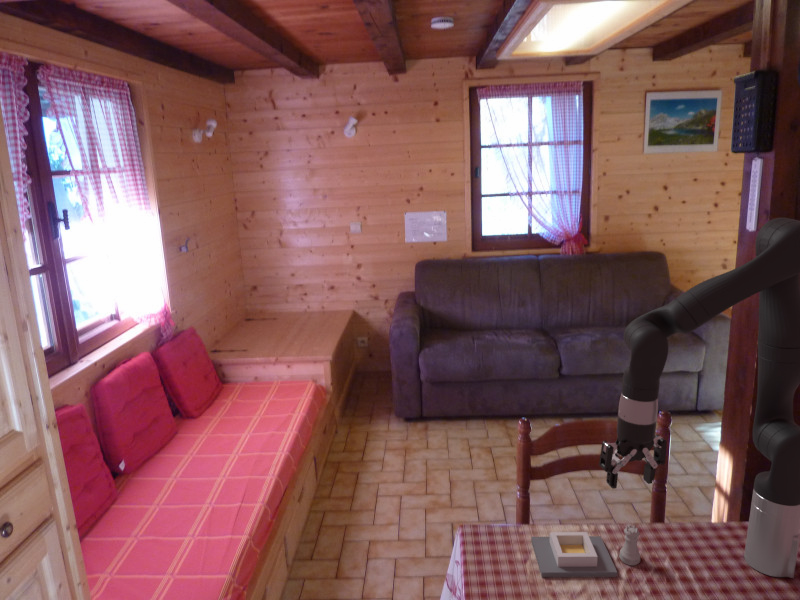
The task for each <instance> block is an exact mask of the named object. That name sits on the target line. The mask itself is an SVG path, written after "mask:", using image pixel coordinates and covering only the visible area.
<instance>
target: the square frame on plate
mask: <svg viewBox="0 0 800 600" xmlns="http://www.w3.org/2000/svg"><path fill="white" fill-rule="evenodd" d="M530 542H531V545H532V548H533V552H534V554H535V558H536V561H537V565H538V568H539V573H540V576H541V578H615V577H616V578H618V571H617V569H616V566H615V564H614V561H613V560H612V558H611V555H610V553H609V551H608V549H607V547H606V545H605V542H604V541H603V539H602V536H599V535H597V536H596V535H595V536H594V535H591V536H590V535H589V534H588V531H550V532H549V536H531V541H530Z"/></svg>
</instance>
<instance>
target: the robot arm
mask: <svg viewBox="0 0 800 600" xmlns="http://www.w3.org/2000/svg"><path fill="white" fill-rule="evenodd" d="M754 247H755V257H754V258H752V259H751V260H749V261H747V262H746V263H744V264H741V265H740V266H738V267H736V268H734V269H731V270H728V271H727V272H723V273H721V274H719V275H716V276H714V277H710V278H709V279H706V280H703V281H701V282H699V283H698V284H696V285H694V286H693V287H691V288H689V289H687V290H686V291H684V292H682V294H680V295H679V296H677V297H676V298H673V300H671V301H670V302H669V303H667V304H664V305H662V306H660V307H657V308H654V309H652V310H650V311H648V312H645V313H644V314H641V315H640V316H638V317H636V318H635V319H633V320H632V321H631V322H629V324H627V326H626V327H625V329H624V331H623V340H624V343H625V345H626V346H627V348H628V349H629V350H630V361H629V366H627V367H625V369H624V372H623V375H622V384H621V394H620V398H619V402H618V403H619V404H618V410H617V411H618V412H617V423H616V440H615V442H608V441H607V440H603V441H602V443H601V449H600V456H599V461H598V462H599V463H598V465H599V468H601V469H602V470H603V471H605V473H606V481H605V482H606V484H607V485H608V486H609V487H610V488H612V490H613V489H617V488H618V487H617V486H618V479H619V477H618V476H619V471H620V470H621V469H622V467H625V466H626V465H627V464H628V462H629V463H631V462H635V461H638V462H639V461H643V460H644V461H645V462H646V463H644V468H643V477H642V478H643V481H644V482H645V483H646V484H648V485H649V484H650V485H651V484H653V481H654V480H655V476H656V475H655V474H656V469H657V468H658V466H659V465H661V466H664V465H665V464H666V459H667V456H666V455H667V444H668V443H667V439H665V438H664V437H662V436H661V435H660V434H656V431H657V421H658V413H659V412H658V411H659V404H658V403H659V390H660V380H661V376H662V374H663V372H664V369H665V366H666V363H667V360H668V355H669V347H670V346H669V339H668V338H669V337H671V336H673V335H675V334H677V333H679V334H689V333H692V332H694V331H695V330H697V329H698V328H700V327H701V326H703V325H704V324H705V325H706V323H708V322H710V320H712V319H714V318H716V317H717V316H719V315H720V314H722V313H723V312H725V311H726V310H729V309H730V308H732V307H733V306H735V305H737V304H738V303H741V302H742V301H744V300H746V299H748V298H750V297H752V296H754V295H756V294H758V293H759V294H758V295H759V296H758V297H759V298H758V301H759V302H758V333H757V335H758V336H757V363H758V364H757V367H758V368H757V391H756V392H757V394H756V403H755V406H756V407H755V410H754V411H755V413H754V419H753V425H752V441H753V444H754V446H755V448H756V450H757V451H758V452H760V454H762V456H764V457H765V458H766V459H768V460H769V461H770V462H771V465H770V470H768V471H767V470H766V471H762V472H759V473H758V474H756V476H755V478H754V482H753V490H752V497H751V504H750V513H749V519H748V526H747V532H746V533H747V534H746V540H745V546H744V553H743V554H744V556H743V557H744V560H745V562H746V564H748V565H749V566H750V568H752V569H754V570H756V571H757V572H759V573H761V574H764V575H767V576H770V577H774V578H790V579H794V577H795V573H796V572H795V571H796V567H797V566H796V565H797V564H796V563H797V559H798V553H799V548H800V547H799V546H800V425H799V424H797V423H796V422H795V420H794V419H795V418H794V397H795V393H796V391H797V389H798V387H799V386H800V220H799V219H794V218H789V217H776V218H772V219H770V220H768V221H767V222H765V223H764V224H763V226H761V228H760V230H759V231H758V232H757V235H756V238H755V246H754ZM652 449H653V454H652V453H651V452H650V451H651V450H652ZM620 457H622V459H620Z"/></svg>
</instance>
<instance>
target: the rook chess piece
mask: <svg viewBox="0 0 800 600" xmlns="http://www.w3.org/2000/svg"><path fill="white" fill-rule="evenodd" d="M623 532H624V543H623V546H622V547H621V548H620V550H619V555H618V556H619V560H620V561H621V562H622V563H623V564H625V565H628V566H637V565H639V563H640V562H641V554H640V552H639V551H640V550H639V549H638V543H637V542H638V541H639V538H638V537H639V536H640V535H641V534H640V533H641V532H640V531H639V528H638V527H636V526H635V525H631V524H628V525H626V526H625V528H624V529H623Z"/></svg>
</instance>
